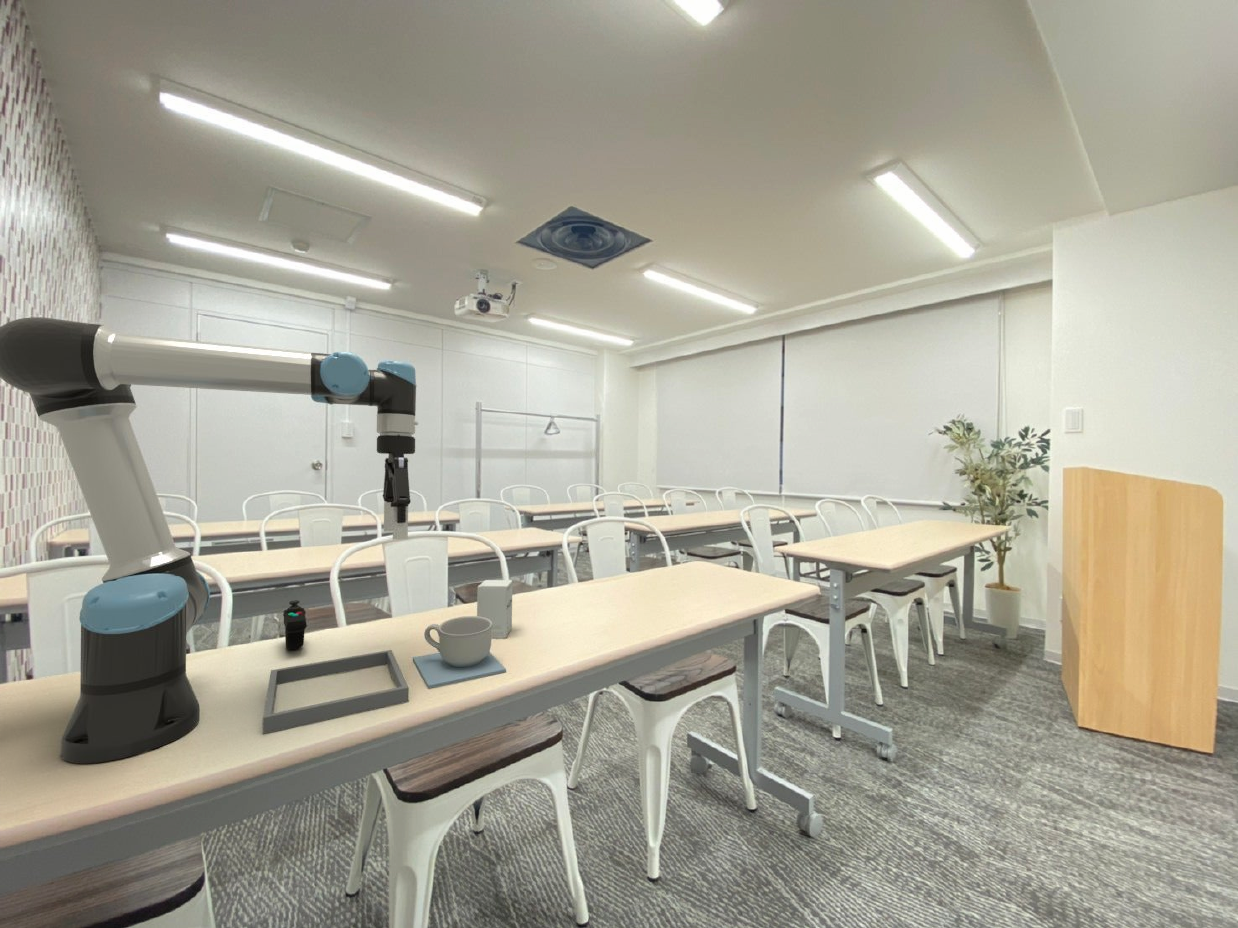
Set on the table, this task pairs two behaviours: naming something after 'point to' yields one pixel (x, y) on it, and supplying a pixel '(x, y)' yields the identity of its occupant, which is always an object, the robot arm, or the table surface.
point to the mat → (454, 670)
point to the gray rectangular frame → (335, 707)
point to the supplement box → (496, 605)
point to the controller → (294, 625)
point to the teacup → (462, 640)
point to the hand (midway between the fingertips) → (395, 535)
